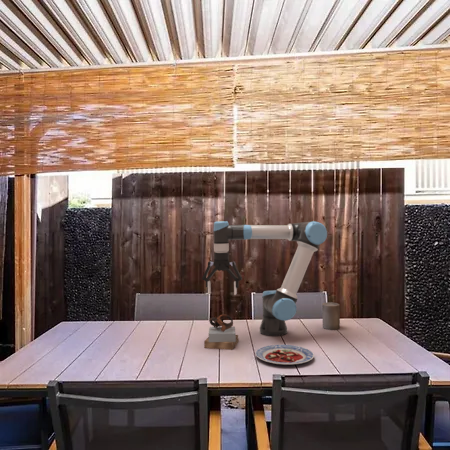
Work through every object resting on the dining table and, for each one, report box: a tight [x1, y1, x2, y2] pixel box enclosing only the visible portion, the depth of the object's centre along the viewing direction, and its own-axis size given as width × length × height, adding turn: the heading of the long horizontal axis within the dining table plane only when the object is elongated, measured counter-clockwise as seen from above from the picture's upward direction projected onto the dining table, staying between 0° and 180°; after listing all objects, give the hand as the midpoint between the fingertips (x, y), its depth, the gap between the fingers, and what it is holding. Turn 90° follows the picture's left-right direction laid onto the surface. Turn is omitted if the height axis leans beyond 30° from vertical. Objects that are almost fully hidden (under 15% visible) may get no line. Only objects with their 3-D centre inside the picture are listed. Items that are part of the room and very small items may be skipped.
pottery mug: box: [208, 314, 234, 332], centre depth 193 cm, size 12×10×8 cm
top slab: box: [208, 326, 237, 342], centre depth 192 cm, size 13×13×4 cm
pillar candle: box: [321, 301, 341, 331], centre depth 221 cm, size 10×10×15 cm
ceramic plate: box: [254, 344, 315, 366], centre depth 172 cm, size 26×26×3 cm
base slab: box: [203, 334, 239, 351], centre depth 193 cm, size 14×14×4 cm
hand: (222, 294), depth 194 cm, fingers open, 13 cm apart
